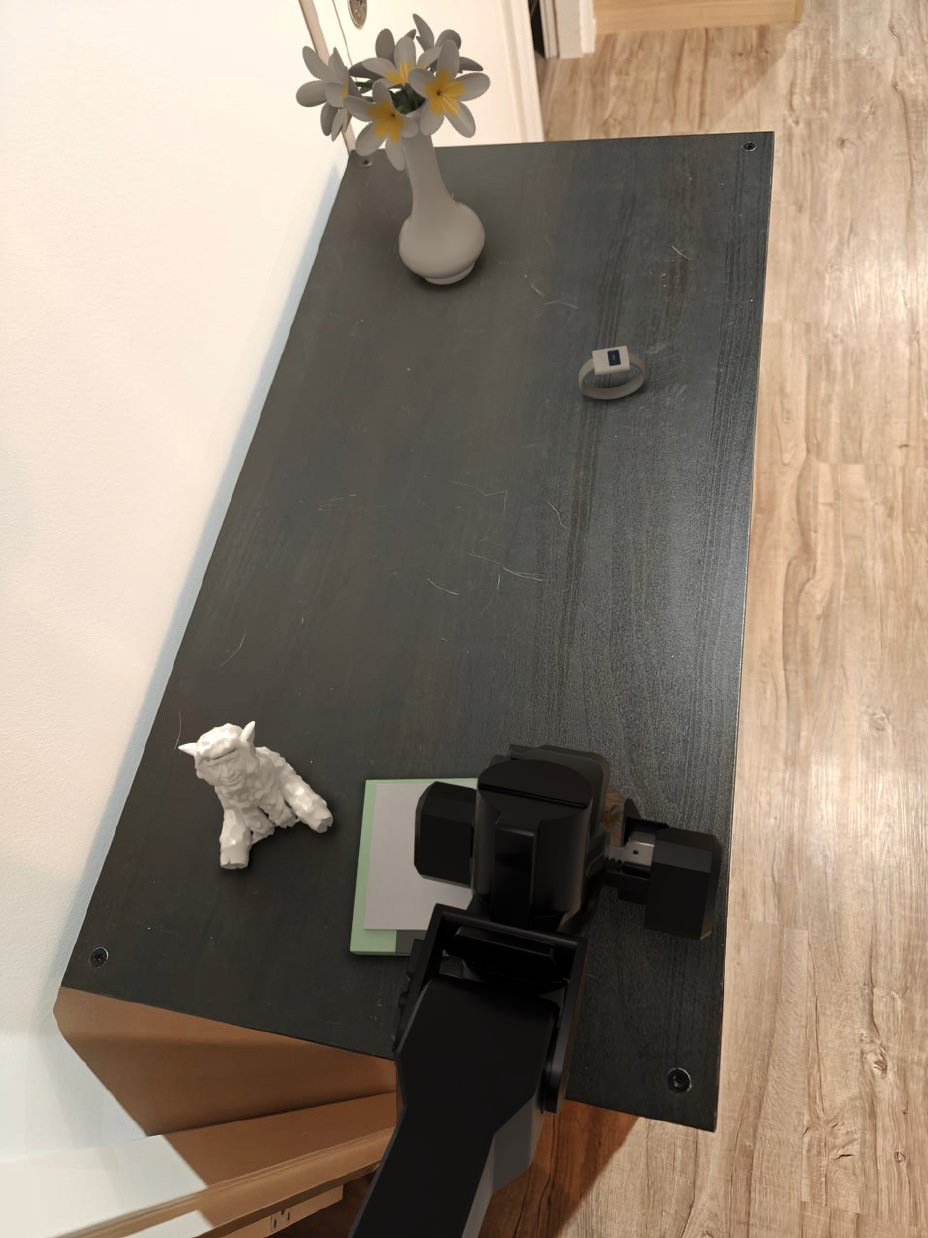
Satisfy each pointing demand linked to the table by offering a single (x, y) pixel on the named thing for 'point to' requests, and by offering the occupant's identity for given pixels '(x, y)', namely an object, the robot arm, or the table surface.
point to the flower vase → (409, 134)
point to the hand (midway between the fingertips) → (587, 796)
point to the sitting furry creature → (253, 790)
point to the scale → (395, 872)
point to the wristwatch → (611, 363)
